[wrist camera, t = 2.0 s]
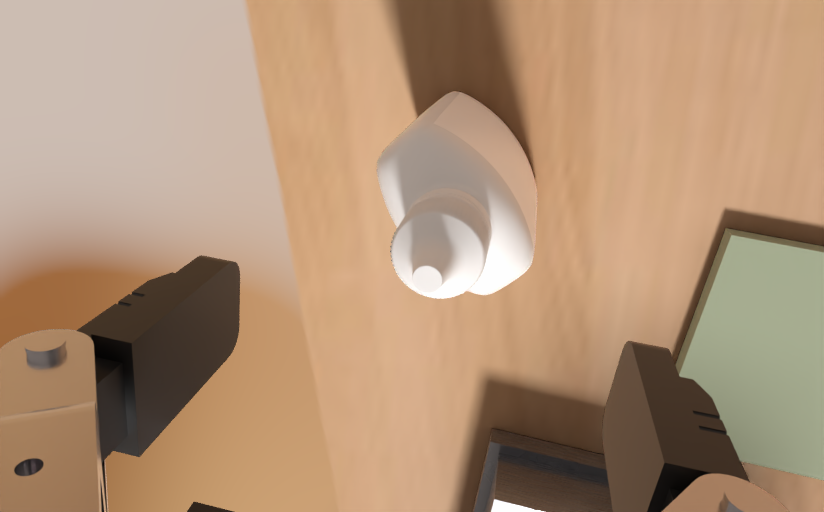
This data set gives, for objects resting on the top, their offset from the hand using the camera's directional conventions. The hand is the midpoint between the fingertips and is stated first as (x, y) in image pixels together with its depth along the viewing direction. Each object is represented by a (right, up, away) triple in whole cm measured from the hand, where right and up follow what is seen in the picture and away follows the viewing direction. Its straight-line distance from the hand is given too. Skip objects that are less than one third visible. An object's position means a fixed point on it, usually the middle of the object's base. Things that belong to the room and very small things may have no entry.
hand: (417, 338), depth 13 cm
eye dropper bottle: (+3, +6, +12) cm, 14 cm away
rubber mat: (+16, -3, +13) cm, 21 cm away
